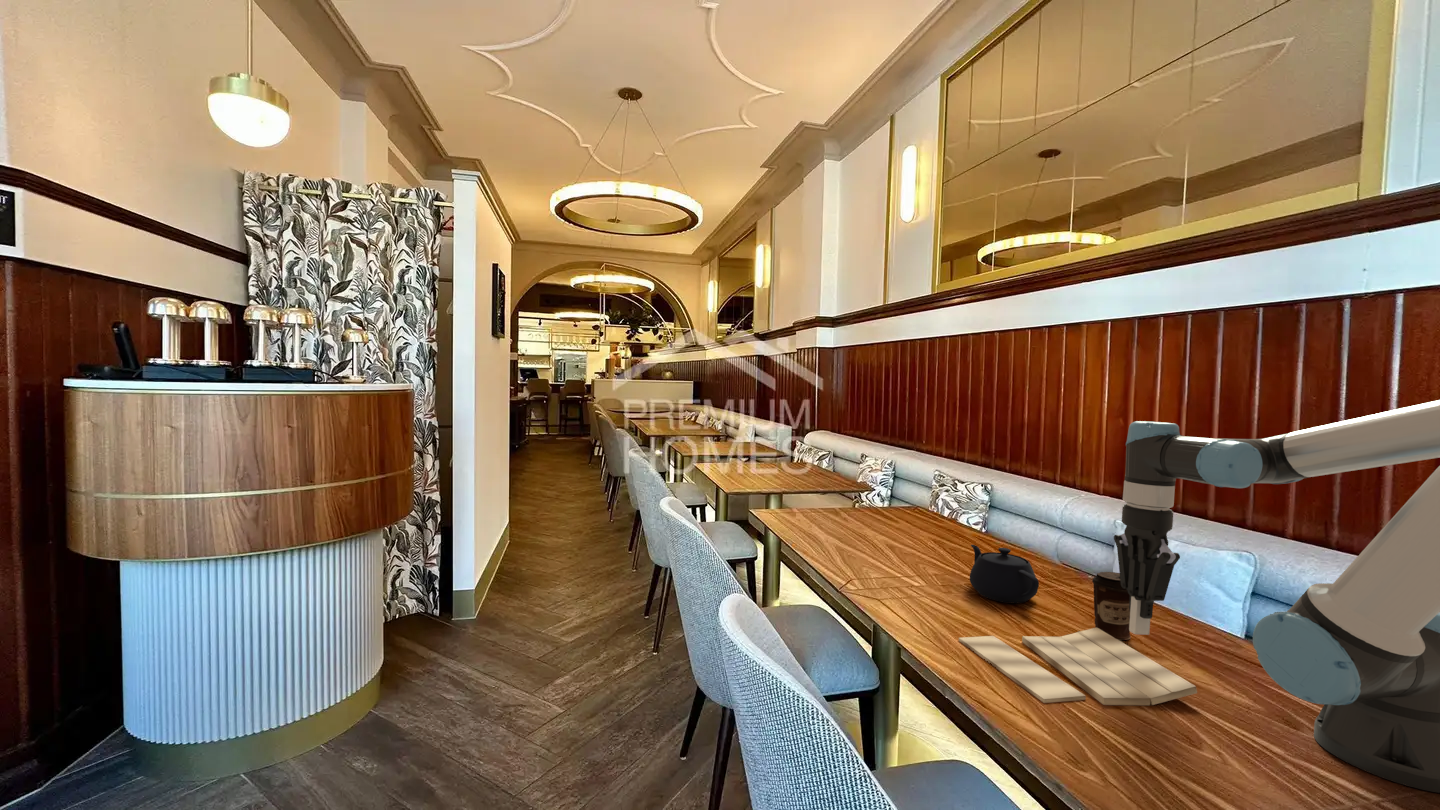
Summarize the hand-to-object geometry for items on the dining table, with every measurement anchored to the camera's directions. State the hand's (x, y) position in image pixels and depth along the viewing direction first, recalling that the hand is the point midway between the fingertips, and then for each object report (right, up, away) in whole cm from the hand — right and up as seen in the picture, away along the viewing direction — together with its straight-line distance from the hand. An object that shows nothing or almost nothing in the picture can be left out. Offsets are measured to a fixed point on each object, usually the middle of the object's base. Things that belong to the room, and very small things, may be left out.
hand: (1139, 632), depth 108 cm
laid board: (-10, -8, +1) cm, 13 cm away
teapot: (-6, -7, +42) cm, 43 cm away
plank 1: (-22, -8, +2) cm, 23 cm away
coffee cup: (+7, -8, +18) cm, 21 cm away
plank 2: (-2, -7, +2) cm, 7 cm away
